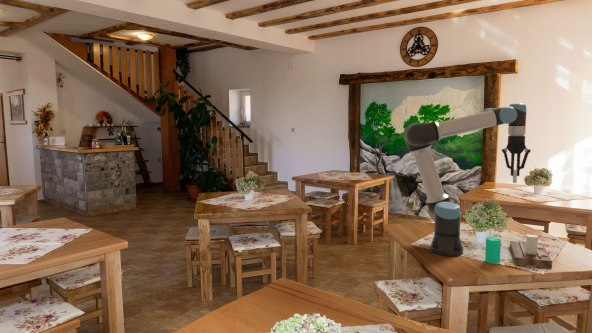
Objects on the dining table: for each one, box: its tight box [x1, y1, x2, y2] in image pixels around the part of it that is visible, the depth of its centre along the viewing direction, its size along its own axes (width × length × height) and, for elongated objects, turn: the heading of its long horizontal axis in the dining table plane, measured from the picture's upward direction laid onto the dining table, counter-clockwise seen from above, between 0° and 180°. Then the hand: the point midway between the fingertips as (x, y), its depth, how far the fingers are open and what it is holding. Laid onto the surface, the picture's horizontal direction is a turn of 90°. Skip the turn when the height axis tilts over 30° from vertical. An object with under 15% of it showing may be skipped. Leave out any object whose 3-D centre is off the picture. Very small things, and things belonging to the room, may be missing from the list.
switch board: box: [509, 240, 553, 269], centre depth 192 cm, size 14×28×4 cm, turn 157°
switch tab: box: [525, 233, 539, 255], centre depth 186 cm, size 4×4×8 cm
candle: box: [484, 235, 502, 265], centre depth 185 cm, size 6×6×12 cm
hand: (514, 182), depth 206 cm, fingers closed
